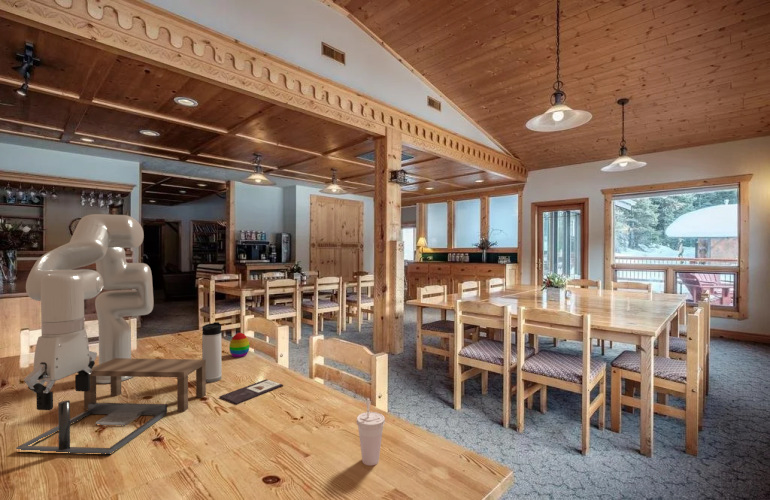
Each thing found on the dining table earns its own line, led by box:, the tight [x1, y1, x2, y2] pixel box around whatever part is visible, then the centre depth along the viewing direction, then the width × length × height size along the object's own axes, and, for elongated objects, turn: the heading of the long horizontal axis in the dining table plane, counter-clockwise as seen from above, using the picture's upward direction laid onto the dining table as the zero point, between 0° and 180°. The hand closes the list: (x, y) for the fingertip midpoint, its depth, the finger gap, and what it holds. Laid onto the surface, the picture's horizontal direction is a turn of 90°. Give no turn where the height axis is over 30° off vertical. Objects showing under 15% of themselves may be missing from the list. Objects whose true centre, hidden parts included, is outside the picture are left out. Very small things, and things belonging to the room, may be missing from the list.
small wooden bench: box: [83, 357, 207, 413], centre depth 115 cm, size 30×12×12 cm, turn 88°
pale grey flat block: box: [95, 412, 142, 427], centre depth 103 cm, size 8×6×2 cm
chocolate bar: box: [219, 379, 284, 406], centre depth 123 cm, size 9×1×18 cm
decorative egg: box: [228, 332, 250, 358], centre depth 163 cm, size 8×8×10 cm
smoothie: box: [355, 398, 386, 466], centre depth 84 cm, size 6×6×14 cm
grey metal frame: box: [15, 399, 168, 454], centre depth 96 cm, size 22×22×12 cm
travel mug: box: [201, 321, 223, 383], centre depth 134 cm, size 6×7×20 cm
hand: (64, 399), depth 87 cm, fingers open, 9 cm apart
